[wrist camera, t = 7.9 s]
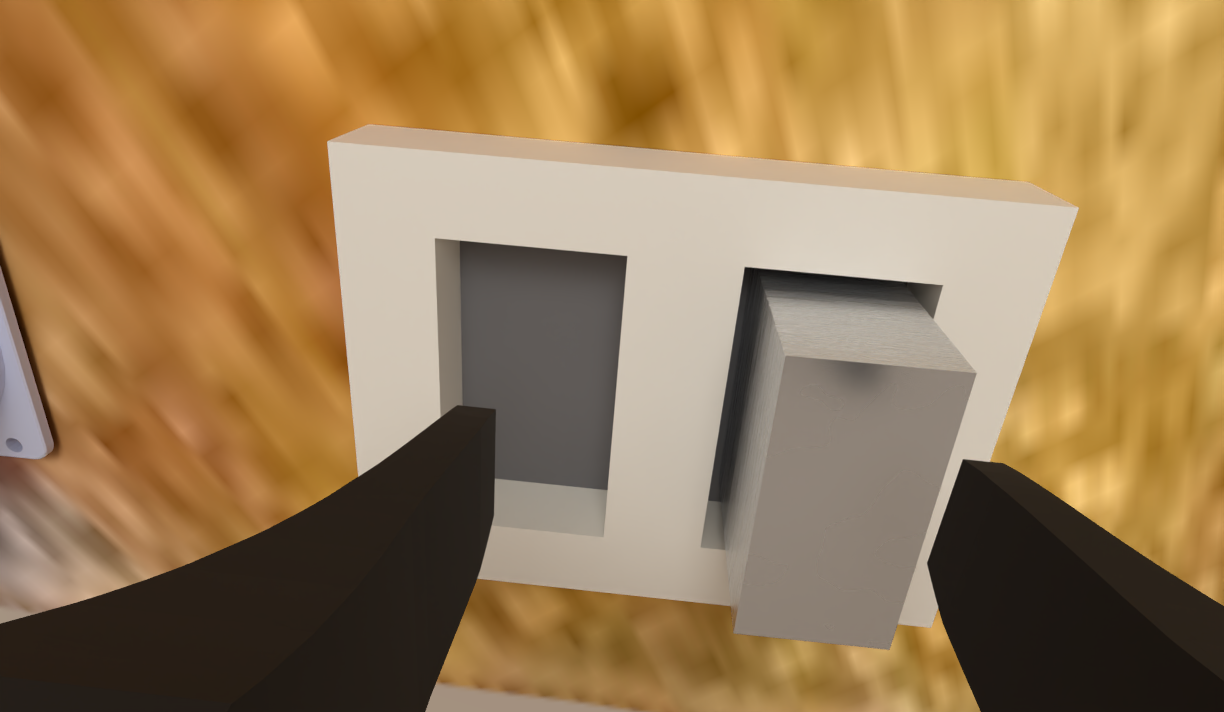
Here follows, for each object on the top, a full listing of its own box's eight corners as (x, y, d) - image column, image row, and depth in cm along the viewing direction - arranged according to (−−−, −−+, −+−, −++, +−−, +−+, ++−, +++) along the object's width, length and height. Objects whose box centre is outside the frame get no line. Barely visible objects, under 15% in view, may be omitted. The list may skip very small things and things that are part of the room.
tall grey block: (718, 479, 22) (733, 633, 17) (753, 255, 19) (785, 356, 14) (836, 490, 22) (890, 650, 17) (890, 266, 19) (976, 372, 14)
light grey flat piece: (395, 513, 24) (366, 566, 22) (368, 123, 19) (327, 141, 16) (906, 567, 23) (931, 627, 21) (1029, 182, 18) (1079, 207, 16)
